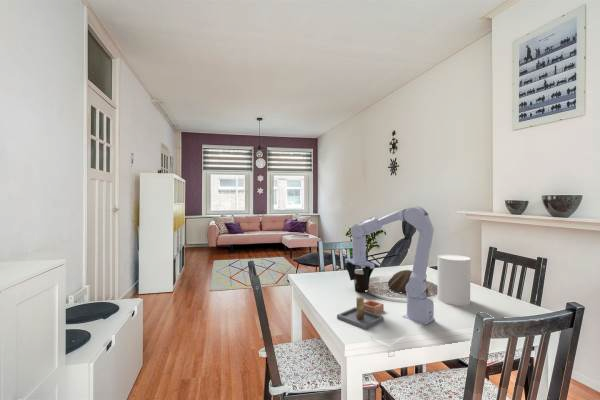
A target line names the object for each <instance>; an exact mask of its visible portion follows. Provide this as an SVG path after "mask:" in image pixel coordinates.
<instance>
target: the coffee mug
mask: <svg viewBox="0 0 600 400" xmlns="http://www.w3.org/2000/svg"><path fill="white" fill-rule="evenodd" d="M370 279H371V278H370ZM370 279H369V281H370ZM353 282H354V283H353V285H354V291H355V292H356V293H360V294H361V293H362V294H366V292H365V290H368V291H369V289H370V288H369V287H370V282H369V283H368V284H364V273H363V270H362V269H355V278H354V280H353Z"/></svg>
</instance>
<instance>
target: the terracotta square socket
mask: <svg viewBox="0 0 600 400" xmlns="http://www.w3.org/2000/svg"><path fill="white" fill-rule="evenodd" d="M364 310H365V311H368V312H371V313H374V314H377V315H378V314H380V313H381V312H383V311H384V303H382V302H378V301H375V300H371V299H369V300H366V301H364Z"/></svg>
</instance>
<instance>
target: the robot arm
mask: <svg viewBox="0 0 600 400" xmlns="http://www.w3.org/2000/svg"><path fill="white" fill-rule="evenodd" d="M396 221H401V222H407V223H408V224H409V225H411V226H413V228H415V229H416V231H417V232H418V239H417V244H416V248H415V255H414V260H413V265H412V270H411V271H412V273H411V276H410V279H409V282H408V283H407V284H406V286H405V290H406V293H407V294H406V314H404V315H403V316H402V318H404V319H408V320H410V321H414V322H417V323H419V324H421V325H424V326H425V325H426V326H427V325H428V324H430V323H431V322H432V321H434V320H435V317H434V307H435V305H434V301H433V299H430V298H429V297H427V292H426V293H425V290H426V289H427V288H428V281H427V269H428V264H429V257H430V254H431V247H432V243H433V237H434V232H435V231H434V230H435V229H434V228H435V227H434V225H433V224H432V221H431V219H430V214H429V213H428V211H426V210H425V208H423V207H422V206H414V207H413V206H411V207H408V208H404V209H399V210H396V211H394V212H392V213H390V214H387V215H385V216H383V217H381V218H379V217H376V216H375V217H374V216H371V217H369V218H368V220H365V221H360V223H359V224H356V223H355V224H354V225H352V226H351V228H350V231H349V232H350V234H351V236H352V258H349V257H347V258H344V263H345V265H344V266H345V268H346V270H347V273H348V275H349V279H350V281H354V278H355V270H356V266H358V267H362V269H361V270H363V273H364V284H368V283H369V284H370V280H369V279H371V275H372V273H373V271H374V269H375V262H371V261H368V260H366V259H367V246H366V245H367V244H366V243H367V241H366V239H367V237H366V236H367V235H371V234H373V233H375V232H378V231H381V230H382V228H383V226H386V225H389V224H390V223H393V222H396Z"/></svg>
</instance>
